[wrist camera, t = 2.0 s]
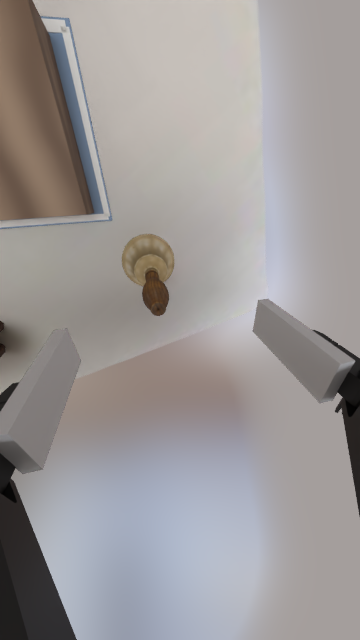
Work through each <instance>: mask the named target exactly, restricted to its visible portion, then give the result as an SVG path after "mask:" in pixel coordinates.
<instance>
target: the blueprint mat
mask: <svg viewBox="0 0 360 640" xmlns="http://www.w3.org/2000/svg"><path fill="white" fill-rule="evenodd" d="M40 17H41V19H42V21H43V23H44V25H45V27H46V29H47V31H48V33H49V36H50V40H51V43H52V47H53V51H54V55H55V59H56V63H57V67H58V71H59V75H60V79H61V83H62V87H63V91H64V95H65V99H66V102H67V106H68V110H69V114H70V118H71V122H72V126H73V130H74V134H75V138H76V142H77V146H78V150H79V154H80V158H81V161H82V165H83V169H84V173H85V177H86V181H87V185H88V189H89V193H90V197H91V201H92V205H93V209H94V213H92V214H87V215H72V216H58V217H44V218H29V219H15V220H1V221H0V229H6V228H19V227H33V226H46V225H59V224H72V223H86V222H99V221H112V216H111V211H110V207H109V202H108V197H107V193H106V188H105V183H104V179H103V174H102V169H101V165H100V160H99V155H98V151H97V146H96V141H95V137H94V132H93V127H92V123H91V118H90V113H89V109H88V104H87V100H86V95H85V90H84V86H83V81H82V76H81V72H80V67H79V62H78V58H77V53H76V48H75V44H74V39H73V34H72V30H71V25H70V20H69V18H57V17H43V16H40Z"/></svg>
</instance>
